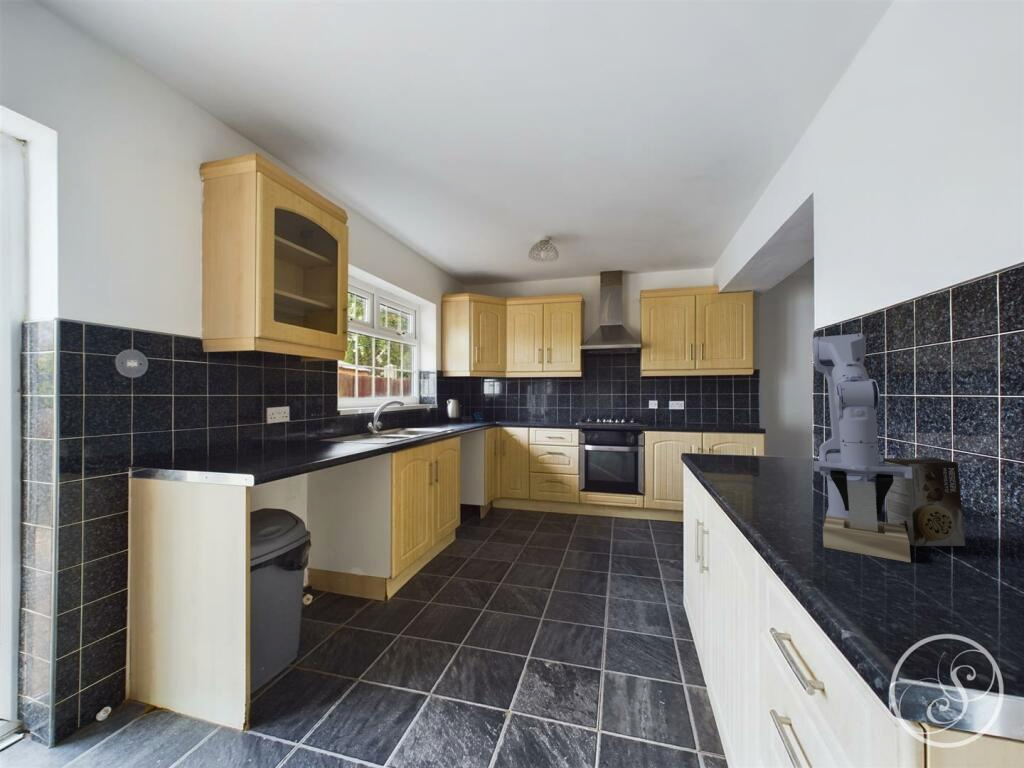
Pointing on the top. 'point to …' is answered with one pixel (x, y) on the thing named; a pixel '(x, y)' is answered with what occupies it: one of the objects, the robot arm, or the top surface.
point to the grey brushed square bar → (862, 506)
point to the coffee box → (927, 502)
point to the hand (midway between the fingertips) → (862, 511)
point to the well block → (867, 539)
